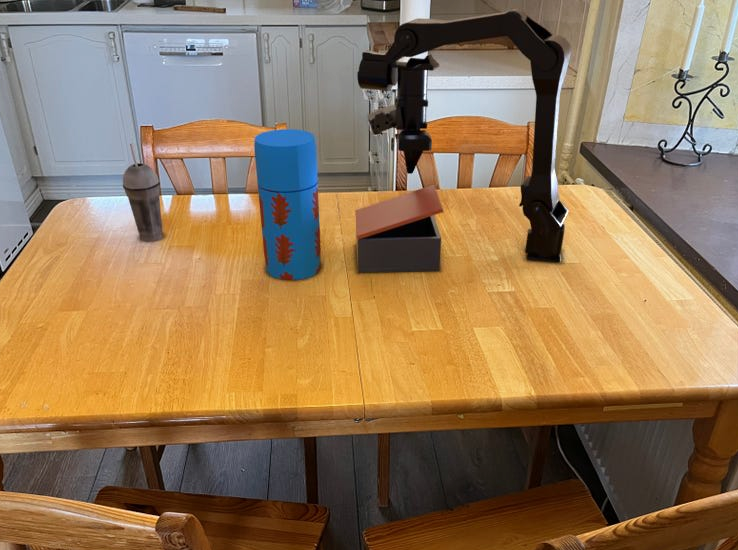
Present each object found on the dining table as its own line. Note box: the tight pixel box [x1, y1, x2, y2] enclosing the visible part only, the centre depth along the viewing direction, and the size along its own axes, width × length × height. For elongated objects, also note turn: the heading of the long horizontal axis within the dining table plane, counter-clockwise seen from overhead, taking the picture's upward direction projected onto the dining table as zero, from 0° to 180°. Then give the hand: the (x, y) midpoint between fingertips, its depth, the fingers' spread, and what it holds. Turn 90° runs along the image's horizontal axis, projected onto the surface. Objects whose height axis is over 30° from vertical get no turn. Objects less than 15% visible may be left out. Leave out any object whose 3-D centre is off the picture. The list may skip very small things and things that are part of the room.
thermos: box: [253, 128, 322, 281], centre depth 126 cm, size 11×11×25 cm
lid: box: [355, 184, 444, 239], centre depth 131 cm, size 16×13×1 cm
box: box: [355, 215, 442, 274], centre depth 135 cm, size 16×13×7 cm
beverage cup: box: [122, 142, 163, 242], centre depth 140 cm, size 7×7×20 cm
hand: (409, 173), depth 140 cm, fingers closed
